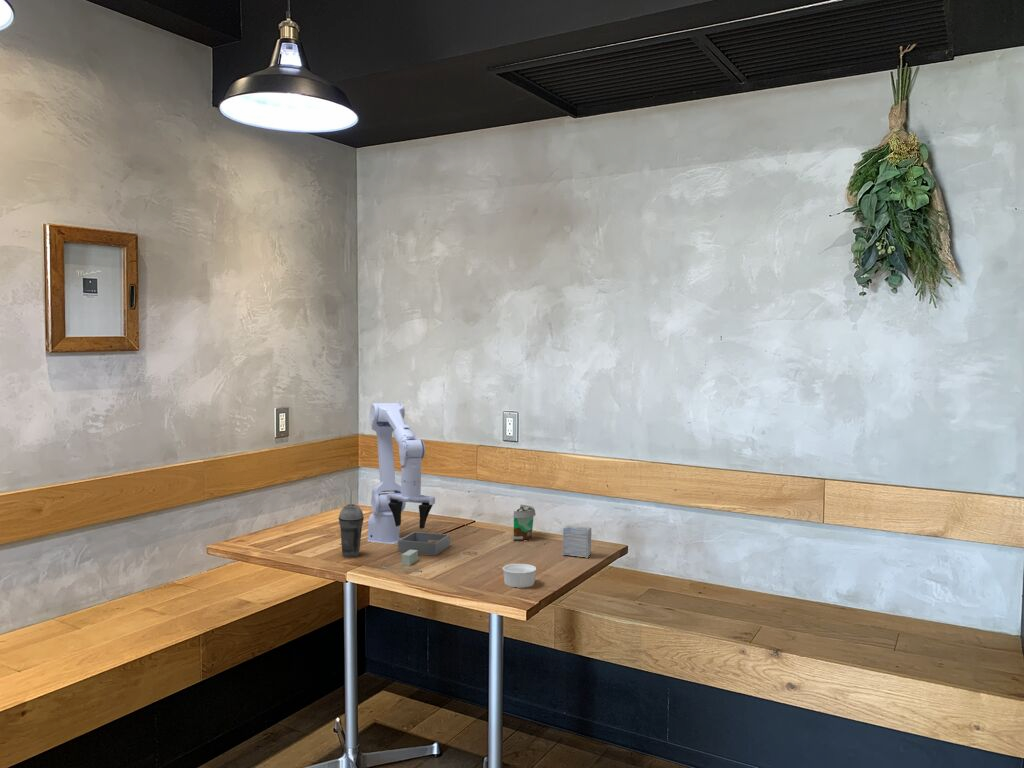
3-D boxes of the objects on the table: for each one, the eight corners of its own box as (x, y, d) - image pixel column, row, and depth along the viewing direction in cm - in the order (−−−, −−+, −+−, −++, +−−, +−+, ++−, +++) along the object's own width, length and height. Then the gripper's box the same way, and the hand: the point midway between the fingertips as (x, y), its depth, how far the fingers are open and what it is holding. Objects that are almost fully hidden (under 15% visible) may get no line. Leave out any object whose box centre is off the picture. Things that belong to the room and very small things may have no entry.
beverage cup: (341, 562, 219) (342, 492, 218) (335, 555, 226) (335, 488, 225) (366, 559, 222) (367, 490, 222) (359, 553, 229) (360, 486, 228)
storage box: (398, 553, 230) (398, 540, 230) (414, 544, 241) (414, 531, 241) (435, 557, 226) (435, 543, 226) (449, 547, 238) (450, 534, 238)
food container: (531, 543, 245) (532, 512, 245) (512, 542, 247) (513, 511, 246) (537, 535, 257) (538, 505, 257) (519, 533, 259) (520, 504, 258)
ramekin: (497, 586, 200) (497, 570, 200) (509, 577, 209) (510, 561, 208) (529, 590, 197) (529, 574, 197) (540, 581, 205) (541, 565, 205)
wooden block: (427, 548, 234) (428, 542, 234) (428, 546, 237) (428, 539, 236) (437, 548, 234) (437, 542, 234) (438, 546, 237) (438, 539, 237)
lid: (381, 569, 214) (381, 555, 214) (398, 559, 225) (399, 545, 225) (421, 574, 211) (421, 559, 211) (437, 562, 222) (437, 549, 222)
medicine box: (591, 555, 233) (592, 527, 233) (587, 559, 229) (588, 530, 228) (566, 552, 236) (566, 524, 235) (562, 556, 231) (562, 527, 231)
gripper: (382, 481, 222) (381, 527, 223) (428, 484, 218) (427, 532, 219) (392, 477, 229) (391, 522, 230) (438, 480, 225) (437, 526, 226)
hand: (410, 526), depth 225 cm, fingers open, 7 cm apart
